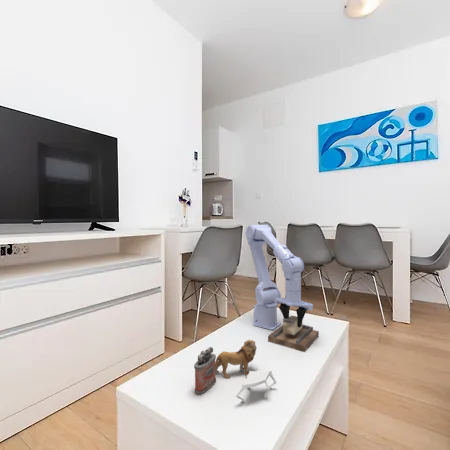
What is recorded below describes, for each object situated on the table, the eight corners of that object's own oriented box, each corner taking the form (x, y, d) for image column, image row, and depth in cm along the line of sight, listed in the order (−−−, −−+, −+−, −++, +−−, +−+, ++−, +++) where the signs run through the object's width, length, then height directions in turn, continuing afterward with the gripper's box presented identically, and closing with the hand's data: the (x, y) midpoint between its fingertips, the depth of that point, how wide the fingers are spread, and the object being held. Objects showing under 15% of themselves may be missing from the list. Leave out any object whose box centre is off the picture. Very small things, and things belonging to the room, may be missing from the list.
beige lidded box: (282, 333, 102) (282, 319, 102) (291, 326, 108) (291, 312, 108) (294, 336, 99) (294, 321, 99) (302, 329, 106) (302, 315, 106)
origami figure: (251, 379, 79) (251, 362, 79) (278, 389, 74) (278, 372, 74) (227, 401, 70) (227, 382, 69) (255, 415, 65) (255, 395, 64)
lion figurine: (252, 363, 87) (251, 335, 87) (260, 372, 82) (259, 342, 82) (208, 374, 82) (207, 344, 82) (214, 384, 77) (213, 352, 77)
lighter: (201, 396, 72) (201, 359, 71) (191, 392, 73) (191, 355, 73) (218, 381, 78) (218, 346, 78) (209, 377, 80) (208, 343, 80)
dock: (268, 341, 103) (268, 332, 103) (285, 328, 115) (285, 320, 115) (304, 351, 94) (304, 342, 94) (318, 336, 106) (318, 328, 106)
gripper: (270, 289, 105) (271, 324, 105) (308, 295, 96) (308, 333, 97) (279, 285, 111) (279, 318, 111) (314, 290, 102) (314, 326, 102)
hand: (293, 325), depth 104 cm, fingers closed on beige lidded box, 4 cm apart
